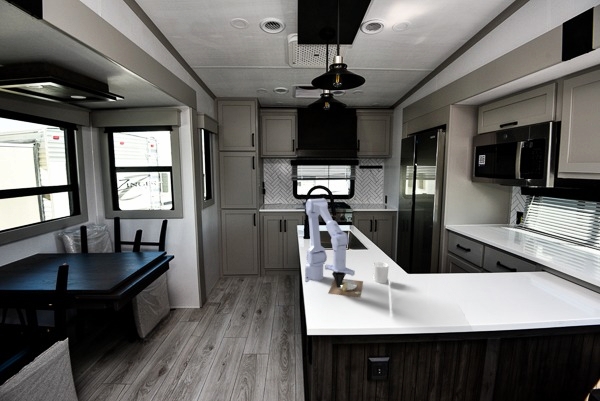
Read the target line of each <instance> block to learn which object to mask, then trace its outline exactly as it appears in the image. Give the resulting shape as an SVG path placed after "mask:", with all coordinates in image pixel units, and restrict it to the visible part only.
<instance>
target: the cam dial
mask: <svg viewBox="0 0 600 401" xmlns="http://www.w3.org/2000/svg"><path fill="white" fill-rule="evenodd" d="M351 280H352V279H348V280H343V281H342V285H341V287H340V288H338V287H337V285H336V287H337V288H338V289H340V290H342V292H347V291H353V290H355V289H356V288H357V284H356V283H355V282H354V281H351Z"/></svg>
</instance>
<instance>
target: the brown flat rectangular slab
mask: <svg viewBox="0 0 600 401" xmlns="http://www.w3.org/2000/svg"><path fill="white" fill-rule="evenodd" d="M343 280H349V279H347V278H344V279H343ZM350 280H351V281H354V282H355V283H356V284H357V288H356V289H355V290H353V291H347V292H342V290H340V289H338V288H337V287H336V281H335V279H334V278H333V281H332V283H331V285H330V288H329V290H328V293H327V294H329V295H336V296H337V295H338V296H342V297H343V296H344V297H351V298H352V297H353V298H360V299H361V297H362V296H361V295H362V291H363V284H364V281H363V280H357V279H350Z"/></svg>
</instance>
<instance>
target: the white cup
mask: <svg viewBox="0 0 600 401" xmlns="http://www.w3.org/2000/svg"><path fill="white" fill-rule="evenodd" d="M389 267H390V266H389V264H388V263H387V262H384V261H375V262H373V263H372V277H373V282H375V283H377V284H386V283H387V282H388V276H389Z"/></svg>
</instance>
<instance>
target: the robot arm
mask: <svg viewBox="0 0 600 401" xmlns="http://www.w3.org/2000/svg"><path fill="white" fill-rule="evenodd" d="M328 204H329V203H328V202H327V200H326V198H324V197H322V198H309V199H307V200H306V202H305V209H306V210H305V212H306V215H307V216H308V224H309V236H310V237H309V238H310V247H308V249H307V250H306V257H305V258H306V262H307V263H306V264H305V270H304V272H305V275H304V276H305V277H304V282H309V281H310V280H312V281H322V280H323V279H324V270H326V271H327V270H329V271H332V273H331V275H332V276H333V280H334V279H335V281H336V285H337V287H338V288H340V287H341V285H342V281H343V279H345V277H346V275H349V276H351V277H353V276H355V270H354V269H351V268H348V267H346V264H347V263H346V262H347V260H346V259H347V246H348V244H349V243H350V238H349V235H348V233H346V232H344V231H342V229H341V227H340V226H339V224H338V222H337V221H336V220H333V218H332V215H331V213H330V211H329V209H328V208H329V207H328ZM319 216H321V217H322V219H323V221H324V222H325V223H326V225H325V228H326V230H327V232H328V234H329V235H330V237H331V239H330V242H331V245H332V250H333V256H332V257H333V259H332V260H333V261H332V264H326V265H325V263H326V262H327V259H328V255H327V252H326V248H325V247H323V246H322V244H321V234H320V223H319V222H320V221H319Z"/></svg>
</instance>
